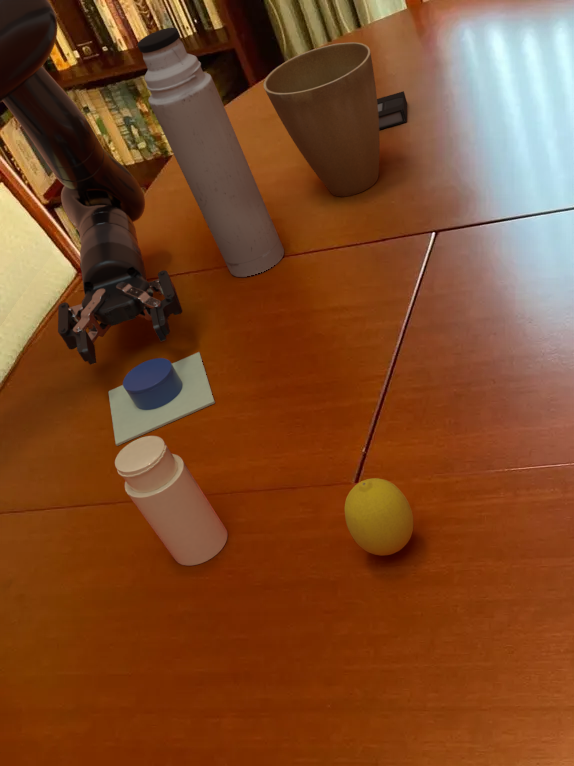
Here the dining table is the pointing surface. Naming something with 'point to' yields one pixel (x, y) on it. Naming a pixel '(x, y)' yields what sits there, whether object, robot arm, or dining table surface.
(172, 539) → the jar
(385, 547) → the lemon
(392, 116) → the vhs tape
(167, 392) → the lid
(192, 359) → the mat
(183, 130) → the thermos bottle
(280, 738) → the dining table surface
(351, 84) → the plant pot
